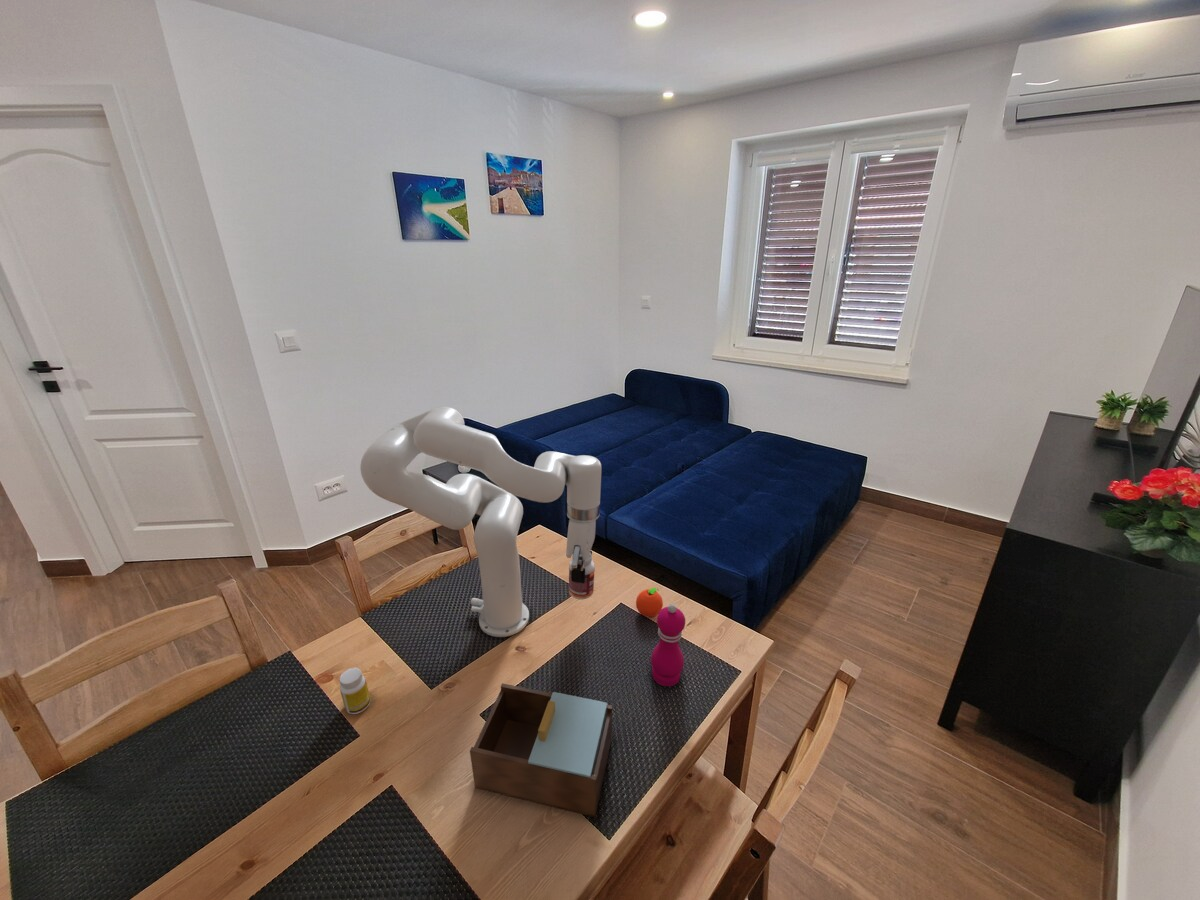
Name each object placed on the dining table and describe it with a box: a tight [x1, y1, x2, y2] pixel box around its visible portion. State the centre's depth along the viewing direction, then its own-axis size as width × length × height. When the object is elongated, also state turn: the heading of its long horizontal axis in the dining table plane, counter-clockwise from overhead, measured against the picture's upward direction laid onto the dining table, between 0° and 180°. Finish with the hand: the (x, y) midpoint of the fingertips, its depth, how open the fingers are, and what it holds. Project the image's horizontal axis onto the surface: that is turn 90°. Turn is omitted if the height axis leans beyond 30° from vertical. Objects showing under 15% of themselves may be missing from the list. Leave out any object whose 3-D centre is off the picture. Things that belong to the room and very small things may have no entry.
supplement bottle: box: [339, 667, 371, 715], centre depth 99 cm, size 5×5×8 cm
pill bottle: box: [568, 552, 596, 600], centre depth 118 cm, size 6×6×11 cm
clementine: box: [635, 587, 664, 618], centre depth 126 cm, size 8×7×7 cm
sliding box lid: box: [528, 691, 608, 778], centre depth 85 cm, size 11×14×3 cm
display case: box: [469, 682, 613, 818], centre depth 88 cm, size 22×14×10 cm, turn 78°
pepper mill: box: [650, 603, 686, 687], centre depth 105 cm, size 7×7×20 cm
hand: (581, 572), depth 118 cm, fingers closed on pill bottle, 6 cm apart
